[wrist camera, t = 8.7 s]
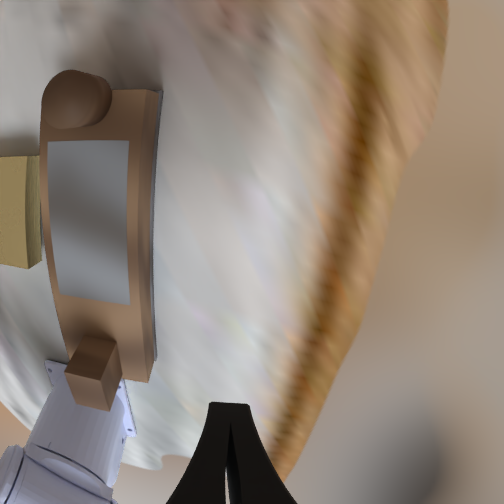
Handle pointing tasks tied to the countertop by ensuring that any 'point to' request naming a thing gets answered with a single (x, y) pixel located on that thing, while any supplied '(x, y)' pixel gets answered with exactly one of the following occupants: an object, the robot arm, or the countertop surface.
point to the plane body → (100, 228)
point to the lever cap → (20, 211)
